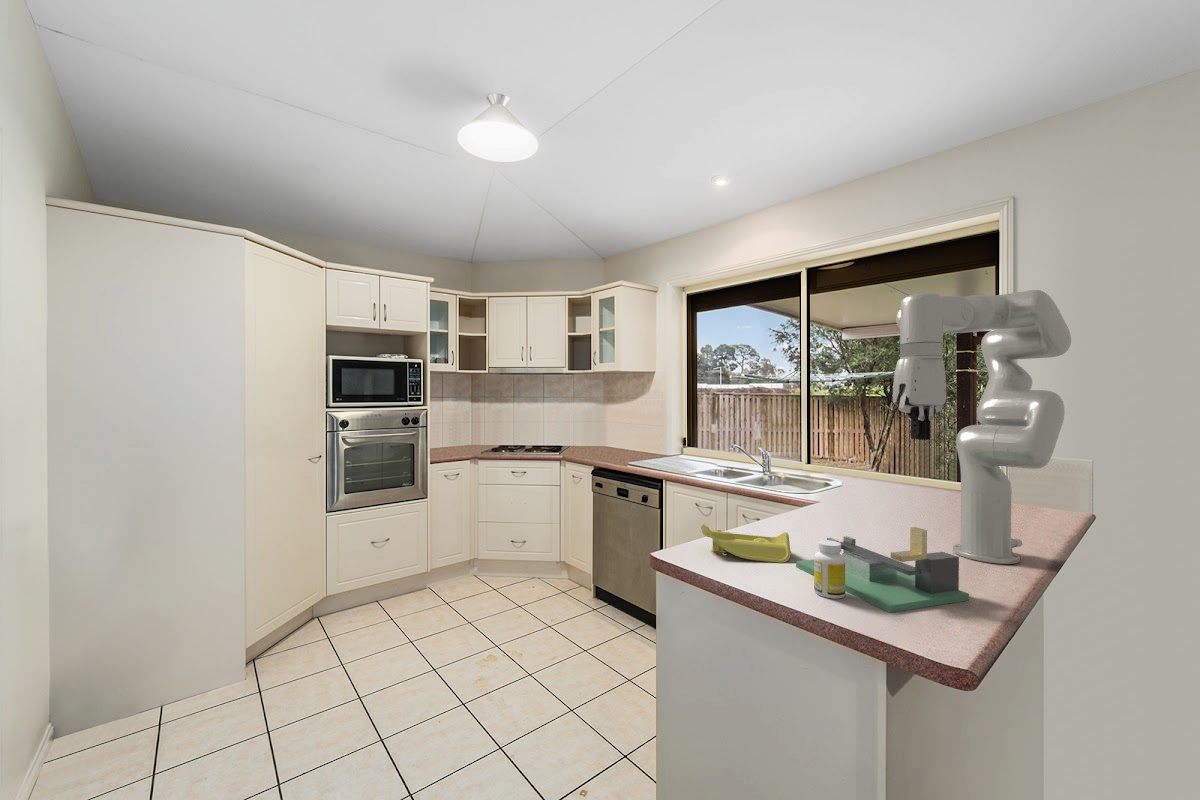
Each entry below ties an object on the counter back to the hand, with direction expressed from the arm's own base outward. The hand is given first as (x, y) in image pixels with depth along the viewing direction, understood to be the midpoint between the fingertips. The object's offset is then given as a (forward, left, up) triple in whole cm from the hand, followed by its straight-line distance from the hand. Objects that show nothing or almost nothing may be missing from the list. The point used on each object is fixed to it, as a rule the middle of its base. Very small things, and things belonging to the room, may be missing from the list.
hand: (920, 439), depth 102 cm
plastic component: (+27, -24, -30) cm, 47 cm away
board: (+12, 0, -29) cm, 31 cm away
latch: (+13, +8, -22) cm, 27 cm away
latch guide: (+6, +9, -28) cm, 30 cm away
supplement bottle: (+25, +2, -29) cm, 39 cm away
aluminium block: (+12, -2, -28) cm, 30 cm away
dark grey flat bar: (+12, 0, -24) cm, 27 cm away
